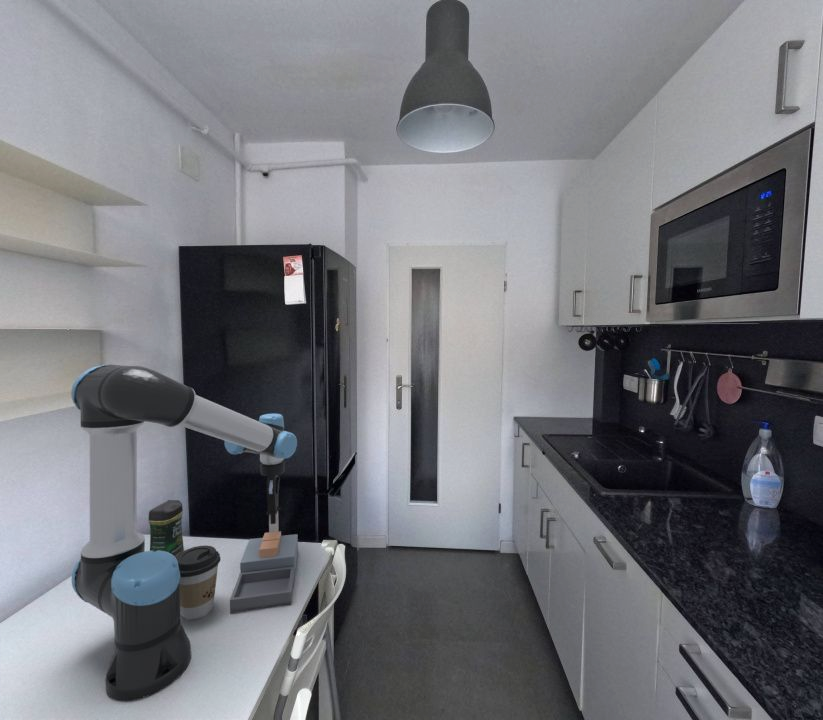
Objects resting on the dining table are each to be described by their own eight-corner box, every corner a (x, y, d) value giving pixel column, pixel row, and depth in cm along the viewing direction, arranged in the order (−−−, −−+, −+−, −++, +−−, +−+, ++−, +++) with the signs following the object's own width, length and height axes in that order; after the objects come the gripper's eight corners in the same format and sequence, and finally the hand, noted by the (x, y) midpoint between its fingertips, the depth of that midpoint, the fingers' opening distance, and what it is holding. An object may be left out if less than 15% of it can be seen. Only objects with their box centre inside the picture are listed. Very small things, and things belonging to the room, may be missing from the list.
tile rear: (279, 546, 122) (279, 538, 122) (262, 548, 121) (262, 540, 121) (281, 538, 127) (280, 531, 127) (264, 540, 126) (264, 532, 126)
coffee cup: (207, 626, 96) (205, 567, 96) (161, 626, 97) (159, 566, 96) (230, 596, 108) (228, 543, 107) (189, 596, 108) (187, 542, 107)
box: (290, 604, 104) (290, 591, 104) (230, 613, 101) (229, 600, 101) (294, 578, 116) (294, 566, 116) (240, 585, 113) (239, 573, 113)
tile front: (277, 555, 117) (277, 547, 117) (259, 558, 116) (259, 549, 116) (279, 547, 122) (278, 539, 122) (262, 549, 121) (261, 541, 121)
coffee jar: (169, 569, 121) (167, 510, 120) (144, 568, 121) (142, 509, 120) (188, 552, 130) (187, 497, 130) (166, 552, 131) (164, 497, 130)
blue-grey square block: (294, 576, 117) (294, 556, 117) (240, 583, 114) (240, 562, 113) (297, 551, 131) (297, 534, 130) (249, 557, 127) (249, 539, 127)
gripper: (282, 466, 124) (283, 539, 125) (286, 455, 136) (287, 521, 137) (257, 468, 122) (258, 542, 123) (263, 456, 135) (264, 523, 136)
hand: (273, 531), depth 130 cm, fingers closed
